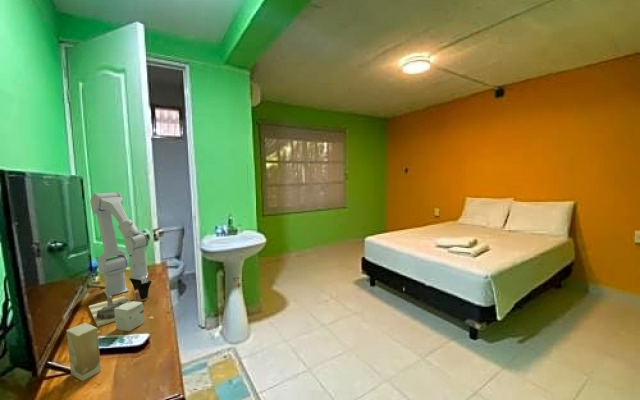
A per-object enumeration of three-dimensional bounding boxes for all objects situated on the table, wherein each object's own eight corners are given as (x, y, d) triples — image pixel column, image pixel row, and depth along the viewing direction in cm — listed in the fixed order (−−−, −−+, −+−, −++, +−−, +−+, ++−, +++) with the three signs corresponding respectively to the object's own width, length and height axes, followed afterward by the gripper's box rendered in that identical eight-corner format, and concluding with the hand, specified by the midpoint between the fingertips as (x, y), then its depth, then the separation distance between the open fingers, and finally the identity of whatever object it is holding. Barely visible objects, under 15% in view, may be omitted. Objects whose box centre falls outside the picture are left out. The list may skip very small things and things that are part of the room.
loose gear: (132, 299, 119) (131, 290, 119) (147, 295, 123) (146, 286, 123) (136, 303, 116) (135, 294, 115) (151, 299, 119) (150, 289, 119)
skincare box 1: (70, 374, 75) (64, 329, 74) (89, 364, 79) (85, 321, 78) (82, 382, 72) (77, 335, 71) (102, 371, 76) (97, 327, 75)
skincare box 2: (129, 331, 95) (127, 310, 94) (115, 329, 97) (113, 308, 96) (145, 322, 101) (143, 302, 100) (132, 320, 102) (130, 300, 102)
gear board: (88, 308, 113) (87, 297, 112) (125, 298, 121) (124, 287, 121) (97, 326, 99) (96, 314, 98) (137, 313, 107) (136, 302, 107)
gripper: (122, 262, 120) (125, 293, 121) (131, 270, 110) (134, 304, 111) (142, 258, 125) (144, 288, 126) (152, 265, 115) (155, 298, 116)
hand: (141, 295), depth 119 cm, fingers open, 7 cm apart
